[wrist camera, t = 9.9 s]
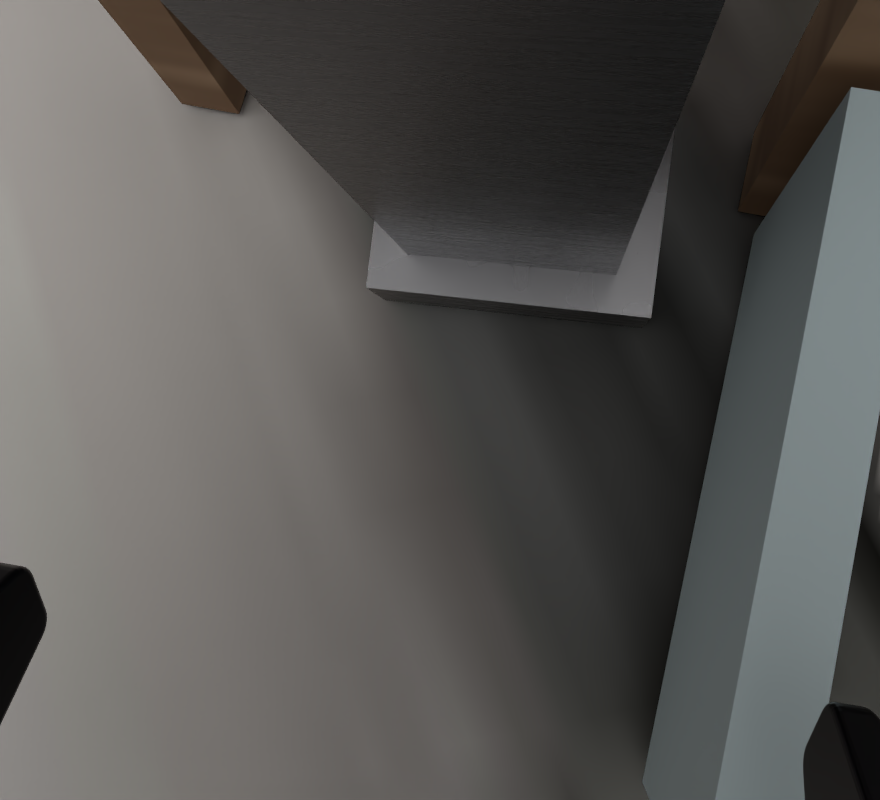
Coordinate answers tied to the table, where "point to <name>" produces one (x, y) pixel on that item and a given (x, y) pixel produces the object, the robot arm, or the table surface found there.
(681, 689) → the door
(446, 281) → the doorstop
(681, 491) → the table surface
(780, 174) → the door frame
